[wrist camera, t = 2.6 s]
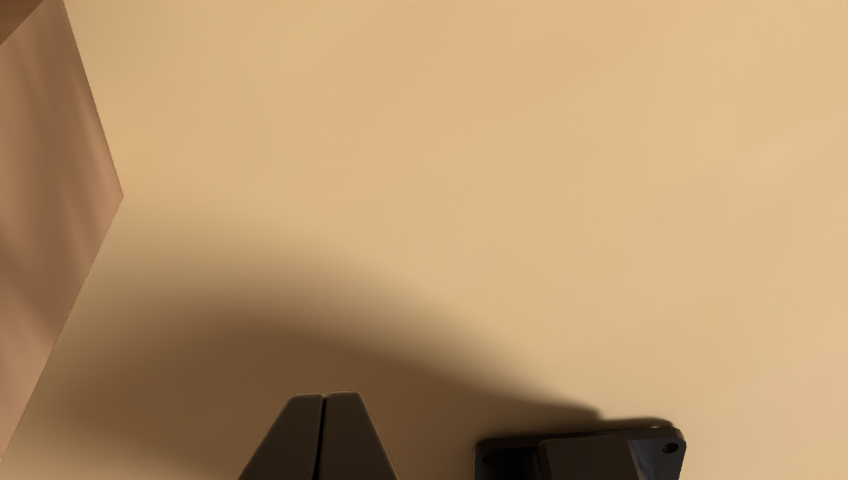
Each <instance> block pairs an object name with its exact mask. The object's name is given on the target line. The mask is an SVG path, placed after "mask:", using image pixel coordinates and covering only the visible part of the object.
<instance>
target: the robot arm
mask: <svg viewBox="0 0 848 480" xmlns="http://www.w3.org/2000/svg"><path fill="white" fill-rule="evenodd" d="M685 451H686V442H685V439H684V436H683V434H682V432H681V431H680V430H679V429H677V428H674V427H663V428H648V429H632V430H616V431H601V432H585V433H569V434H554V435H538V436H523V437H507V438H491V439H485V440H482V441H480V442H478V443H477V444H476V445H475V446H474V449H473V480H678V479H679V475H680V471H681V467H682V463H683V459H684V455H685ZM238 480H399V478H398V476H397V473H396V471H395V469H394V467H393V464H392V462H391V460H390V458H389V455H388V453H387V451H386V449H385V446H384V444H383V442H382V440H381V437H380V435H379V433H378V431H377V428H376V426H375V424H374V422H373V419H372V417H371V415H370V413H369V410H368V408H367V406H366V404H365V401H364V399H363V397H362V395H361V393H360V392H359V391H356V390H351V391H334V392H330V393H328V395H327V397H326V396H325V394H323V393H320V392H318V393H302V394H295V395H293V396H292V397H291V398H290V399H289V400H288V402H287V403H286V405H285V406H284V408H283V410H282V411H281V413H280V414H279V416H278V417H277V419H276V421H275V422H274V424H273V425H272V427H271V428H270V430H269V431H268V433H267V435H266V436H265V438H264V439H263V441H262V442H261V444H260V445H259V447H258V449H257V450H256V452H255V453H254V455H253V456H252V458H251V459H250V461H249V463H248V464H247V466H246V467H245V469H244V470H243V472H242V474H241V475H240V477H239V478H238Z"/></svg>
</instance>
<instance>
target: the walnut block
mask: <svg viewBox="0 0 848 480" xmlns="http://www.w3.org/2000/svg"><path fill="white" fill-rule="evenodd" d="M123 197H124V196H123V193H122V190H121V186H120V183H119V180H118V177H117V173H116V170H115V167H114V164H113V161H112V157H111V154H110V151H109V148H108V144H107V141H106V138H105V135H104V132H103V128H102V125H101V122H100V119H99V115H98V112H97V109H96V106H95V103H94V99H93V96H92V93H91V90H90V86H89V83H88V80H87V77H86V74H85V70H84V67H83V64H82V61H81V57H80V54H79V51H78V48H77V45H76V41H75V38H74V35H73V32H72V28H71V25H70V22H69V19H68V16H67V12H66V9H65V6H64V3H63V0H0V461H1V459H2V457H3V455H4V453H5V450H6V448H7V446H8V444H9V442H10V440H11V438H12V435H13V433H14V431H15V429H16V427H17V425H18V423H19V420H20V418H21V416H22V414H23V412H24V410H25V407H26V405H27V403H28V401H29V399H30V397H31V395H32V392H33V390H34V388H35V386H36V384H37V382H38V380H39V377H40V375H41V373H42V371H43V369H44V367H45V364H46V362H47V360H48V358H49V356H50V354H51V352H52V349H53V347H54V345H55V343H56V341H57V339H58V337H59V334H60V332H61V330H62V328H63V326H64V324H65V322H66V319H67V317H68V315H69V313H70V311H71V309H72V306H73V304H74V302H75V300H76V298H77V296H78V294H79V291H80V289H81V287H82V285H83V283H84V281H85V279H86V276H87V274H88V272H89V270H90V268H91V266H92V263H93V261H94V259H95V257H96V255H97V253H98V251H99V248H100V246H101V244H102V242H103V240H104V238H105V236H106V233H107V231H108V229H109V227H110V225H111V223H112V220H113V218H114V216H115V214H116V212H117V210H118V208H119V205H120V203H121V201H122V199H123Z"/></svg>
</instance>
